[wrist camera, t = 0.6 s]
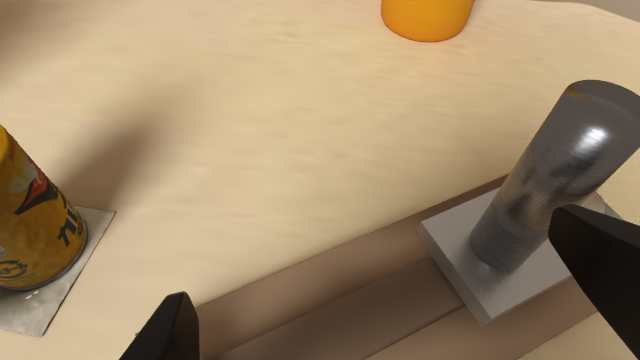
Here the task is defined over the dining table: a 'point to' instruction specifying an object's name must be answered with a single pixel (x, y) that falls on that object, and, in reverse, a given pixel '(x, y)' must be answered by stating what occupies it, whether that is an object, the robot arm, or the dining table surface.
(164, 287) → the dining table surface
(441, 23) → the beer bottle
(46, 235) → the condiment
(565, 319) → the board
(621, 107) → the carriage
